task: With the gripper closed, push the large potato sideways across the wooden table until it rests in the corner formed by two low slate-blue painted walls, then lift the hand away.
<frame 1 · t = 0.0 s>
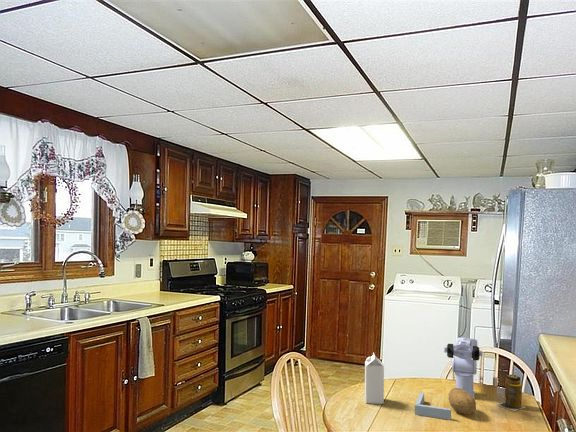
hand: (462, 354, 183), 22 cm above the table, tool horizontal, fingers open, 7 cm apart
condiment: (511, 407, 187), on the table
potato: (462, 412, 180), on the table
corner walls: (434, 410, 181), on the table
milk carton: (374, 401, 192), on the table
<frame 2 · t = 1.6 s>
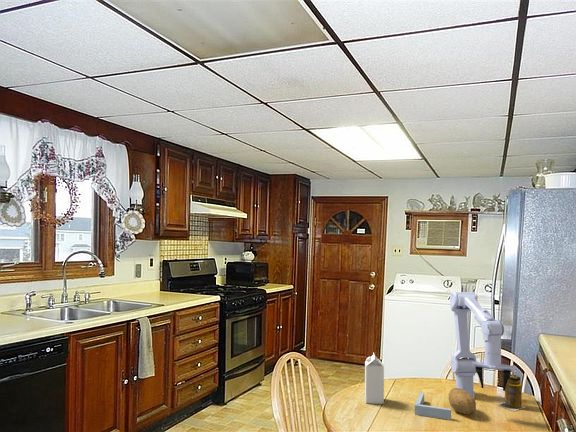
hand: (493, 388, 177), 10 cm above the table, tool pointing down, fingers open, 7 cm apart
nothing on the table moved.
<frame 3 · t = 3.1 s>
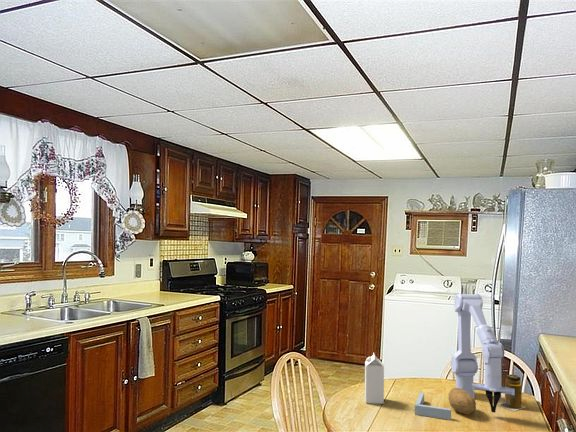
hand: (493, 411, 176), 2 cm above the table, tool pointing down, fingers closed
nothing on the table moved.
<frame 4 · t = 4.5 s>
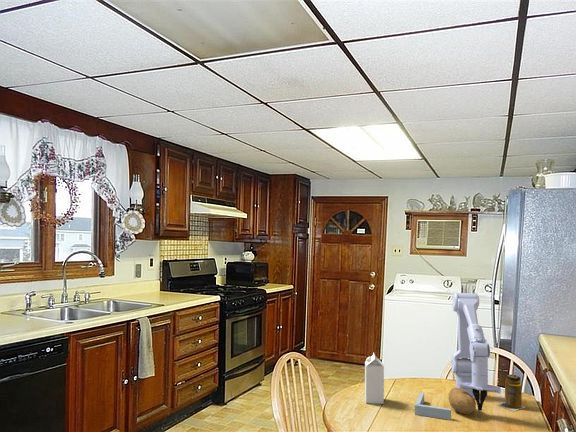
hand: (479, 409, 178), 2 cm above the table, tool pointing down, fingers closed
potato: (462, 412, 180), on the table, touching gripper
everything else where it was.
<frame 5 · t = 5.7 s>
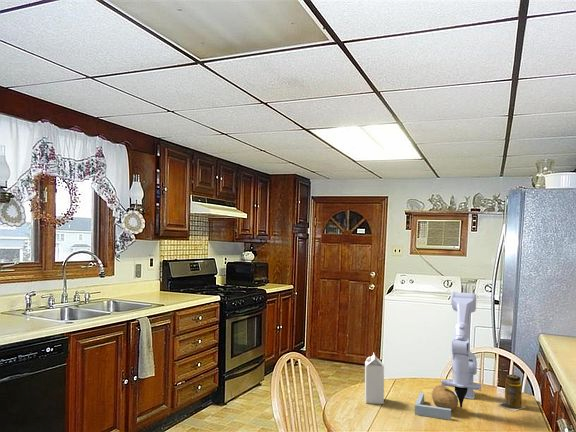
hand: (461, 406, 180), 2 cm above the table, tool pointing down, fingers closed
potato: (445, 410, 183), on the table, touching gripper
everything else where it was.
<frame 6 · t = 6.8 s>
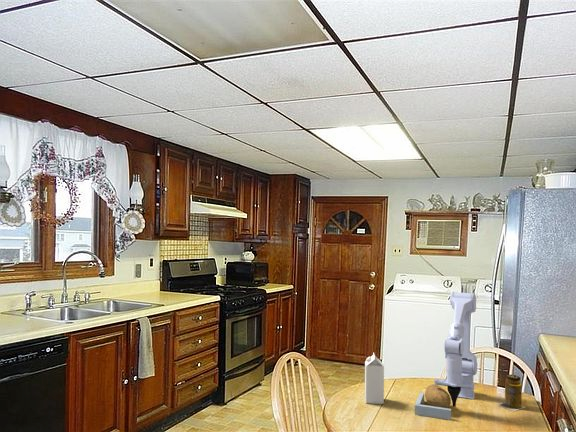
hand: (454, 405, 181), 2 cm above the table, tool pointing down, fingers closed
potato: (438, 409, 184), on the table, touching gripper
everything else where it was.
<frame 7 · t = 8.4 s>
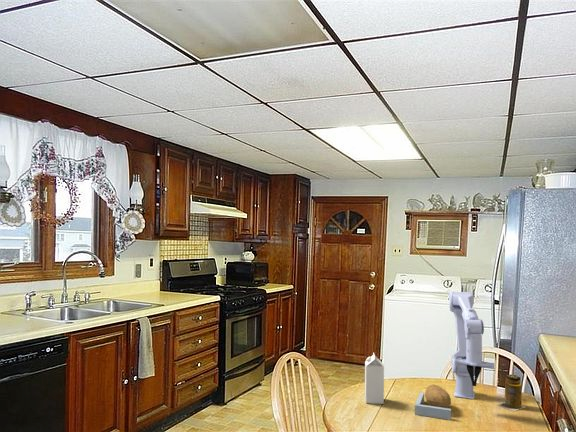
hand: (474, 385, 182), 10 cm above the table, tool pointing down, fingers closed
potato: (438, 409, 184), on the table
everything else where it was.
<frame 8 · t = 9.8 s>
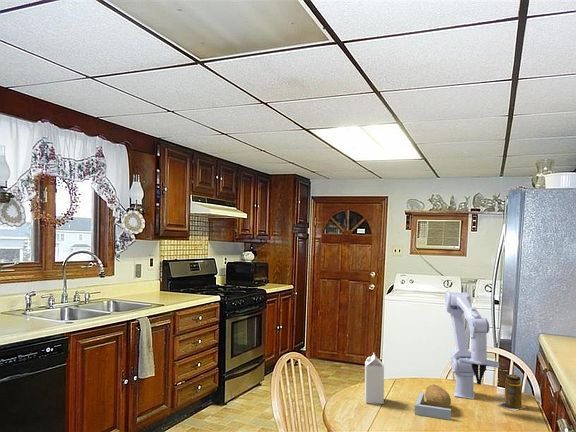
hand: (479, 383, 184), 10 cm above the table, tool pointing down, fingers closed
nothing on the table moved.
at the end: potato inside the target area (0.5 cm from its centre), on the table; potato moved 9.0 cm from its start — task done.
